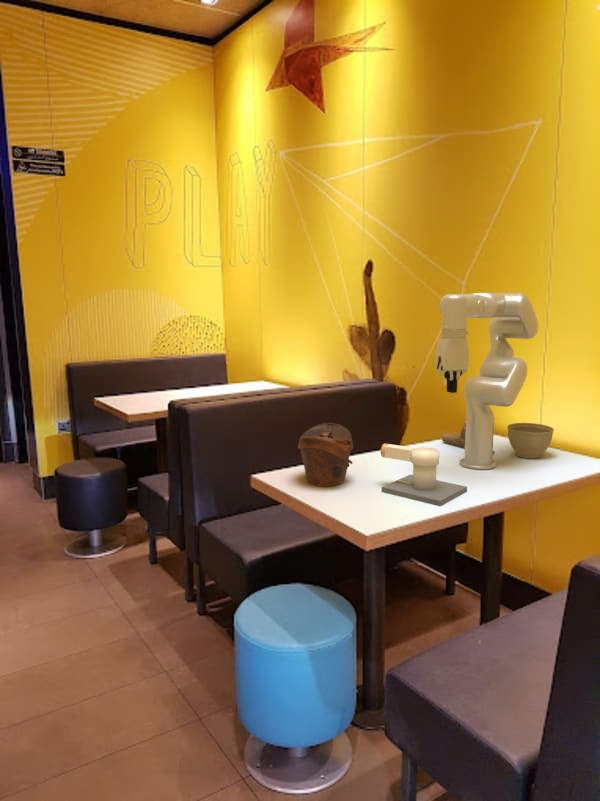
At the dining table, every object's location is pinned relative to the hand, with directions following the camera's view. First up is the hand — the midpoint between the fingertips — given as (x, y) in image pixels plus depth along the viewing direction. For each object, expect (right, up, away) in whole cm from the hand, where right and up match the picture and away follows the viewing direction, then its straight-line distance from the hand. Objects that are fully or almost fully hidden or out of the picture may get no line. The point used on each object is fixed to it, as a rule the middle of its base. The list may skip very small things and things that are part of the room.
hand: (451, 392), depth 190 cm
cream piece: (-14, -22, -6) cm, 26 cm away
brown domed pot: (-40, -29, +5) cm, 50 cm away
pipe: (+15, -21, +48) cm, 55 cm away
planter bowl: (+37, -24, +33) cm, 55 cm away
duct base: (-10, -31, -7) cm, 33 cm away
